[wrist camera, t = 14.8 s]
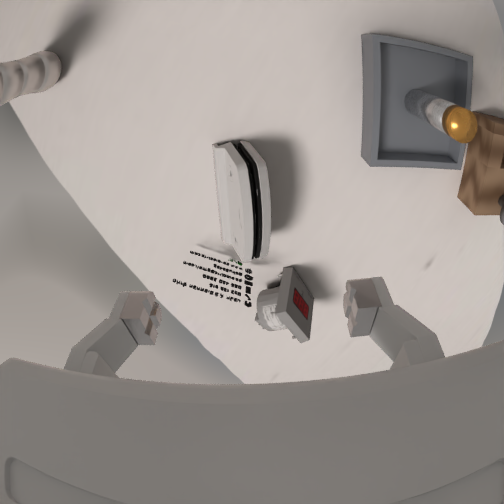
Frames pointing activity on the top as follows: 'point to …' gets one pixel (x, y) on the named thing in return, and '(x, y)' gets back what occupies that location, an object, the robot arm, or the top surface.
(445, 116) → the gold-capped glass vial
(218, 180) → the black-striped white block
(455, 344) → the top surface
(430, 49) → the tray
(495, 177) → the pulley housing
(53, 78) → the plastic bottle
